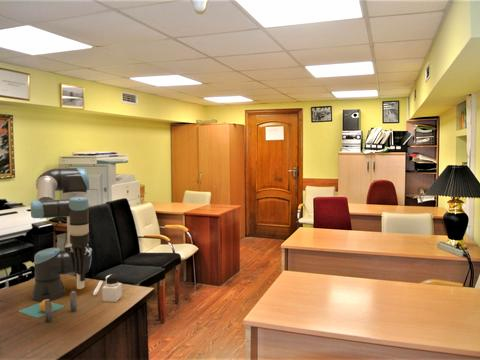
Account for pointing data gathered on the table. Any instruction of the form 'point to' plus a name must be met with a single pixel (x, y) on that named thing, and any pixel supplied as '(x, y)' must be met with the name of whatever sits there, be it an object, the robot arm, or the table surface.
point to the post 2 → (73, 301)
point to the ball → (43, 305)
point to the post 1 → (48, 311)
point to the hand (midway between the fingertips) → (80, 287)
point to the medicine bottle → (112, 289)
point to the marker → (97, 288)
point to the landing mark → (38, 310)
